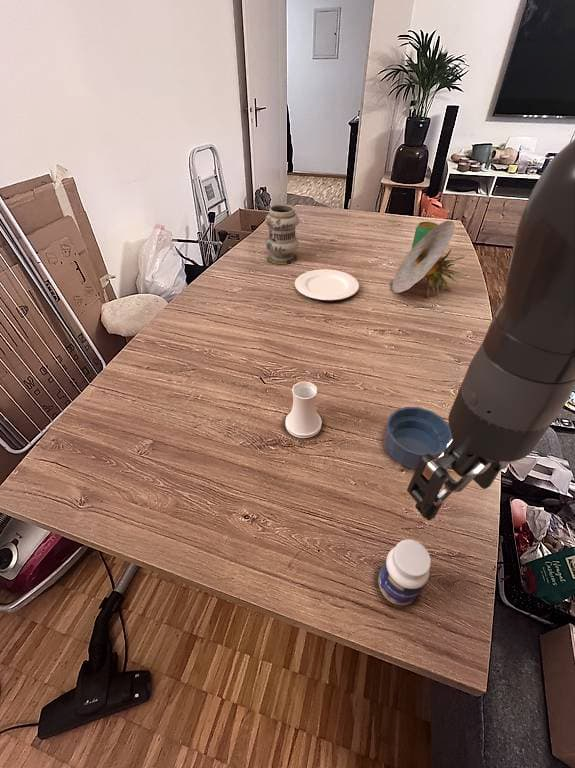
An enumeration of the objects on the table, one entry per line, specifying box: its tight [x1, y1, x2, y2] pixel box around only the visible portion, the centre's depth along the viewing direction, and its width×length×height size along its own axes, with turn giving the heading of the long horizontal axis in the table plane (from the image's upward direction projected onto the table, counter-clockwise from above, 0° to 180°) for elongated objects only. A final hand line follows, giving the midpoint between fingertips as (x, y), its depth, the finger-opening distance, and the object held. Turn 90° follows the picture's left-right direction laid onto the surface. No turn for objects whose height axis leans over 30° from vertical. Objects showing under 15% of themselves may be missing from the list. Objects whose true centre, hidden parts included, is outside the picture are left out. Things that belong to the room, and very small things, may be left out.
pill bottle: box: [377, 539, 432, 606], centre depth 52 cm, size 6×6×10 cm
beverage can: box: [410, 221, 439, 251], centre depth 136 cm, size 8×8×12 cm
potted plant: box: [391, 220, 465, 298], centre depth 117 cm, size 25×18×25 cm
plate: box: [294, 268, 360, 302], centre depth 122 cm, size 21×21×2 cm
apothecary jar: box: [264, 203, 300, 265], centre depth 134 cm, size 12×12×18 cm
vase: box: [285, 381, 323, 439], centre depth 75 cm, size 8×8×10 cm
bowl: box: [382, 406, 452, 471], centre depth 73 cm, size 12×12×5 cm
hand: (452, 496), depth 43 cm, fingers open, 8 cm apart
